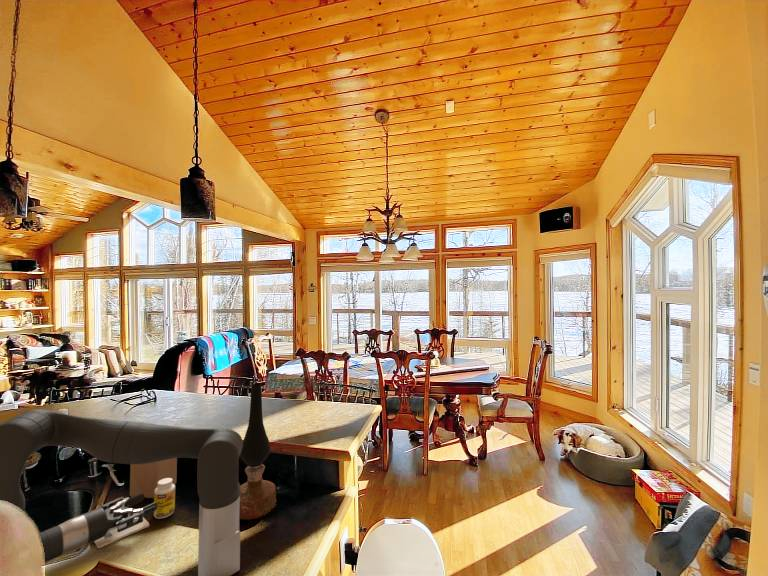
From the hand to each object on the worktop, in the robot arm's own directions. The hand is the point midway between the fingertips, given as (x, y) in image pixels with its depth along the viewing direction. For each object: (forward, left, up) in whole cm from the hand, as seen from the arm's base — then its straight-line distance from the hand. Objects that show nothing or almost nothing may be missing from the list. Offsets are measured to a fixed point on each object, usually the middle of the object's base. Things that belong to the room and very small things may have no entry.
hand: (149, 501), depth 106 cm
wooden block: (+18, -7, -6) cm, 21 cm away
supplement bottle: (0, -4, -6) cm, 7 cm away
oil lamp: (-18, -24, -6) cm, 31 cm away
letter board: (+3, +7, -6) cm, 10 cm away
